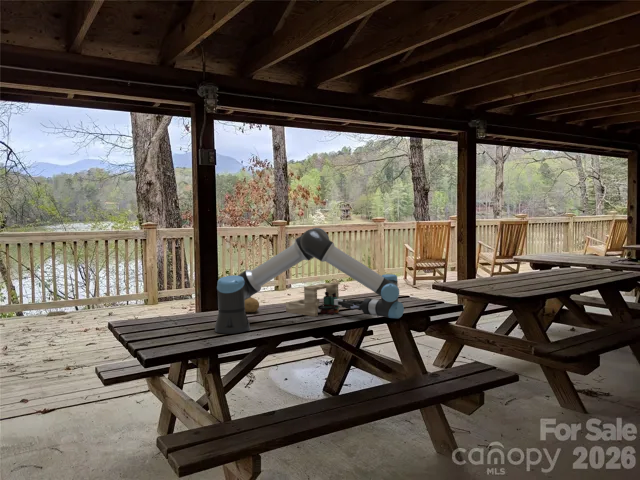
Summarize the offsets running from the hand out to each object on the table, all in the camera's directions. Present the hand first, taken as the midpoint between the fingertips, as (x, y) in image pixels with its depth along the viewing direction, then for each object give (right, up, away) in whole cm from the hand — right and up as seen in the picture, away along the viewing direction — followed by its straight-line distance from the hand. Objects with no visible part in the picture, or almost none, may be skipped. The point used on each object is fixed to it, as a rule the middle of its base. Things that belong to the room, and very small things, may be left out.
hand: (335, 301), depth 234 cm
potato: (-44, -7, +12) cm, 47 cm away
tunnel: (-12, -6, +9) cm, 16 cm away
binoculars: (-3, -6, +2) cm, 8 cm away
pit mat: (-2, -6, +20) cm, 20 cm away
